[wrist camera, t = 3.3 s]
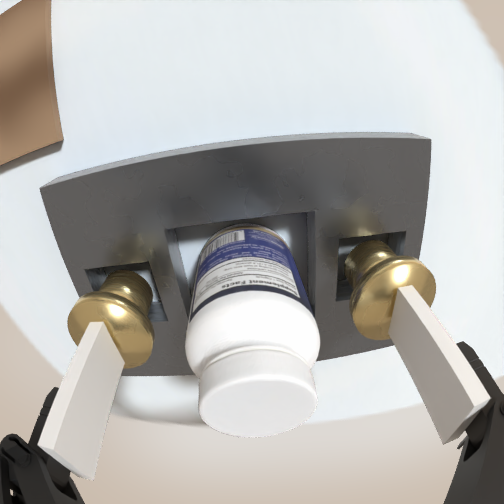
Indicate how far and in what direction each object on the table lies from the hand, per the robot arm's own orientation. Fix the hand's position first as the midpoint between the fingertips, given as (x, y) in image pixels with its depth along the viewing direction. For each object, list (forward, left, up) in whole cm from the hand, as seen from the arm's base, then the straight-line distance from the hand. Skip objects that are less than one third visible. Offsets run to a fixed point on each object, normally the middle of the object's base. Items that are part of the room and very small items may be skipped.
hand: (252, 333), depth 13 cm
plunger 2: (0, +7, -4) cm, 8 cm away
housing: (0, 0, -6) cm, 6 cm away
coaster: (-14, -14, -6) cm, 21 cm away
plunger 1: (0, -7, -4) cm, 8 cm away
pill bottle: (0, 0, -6) cm, 6 cm away
